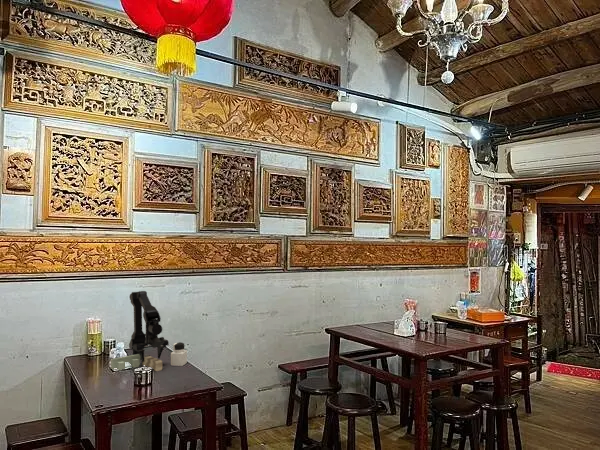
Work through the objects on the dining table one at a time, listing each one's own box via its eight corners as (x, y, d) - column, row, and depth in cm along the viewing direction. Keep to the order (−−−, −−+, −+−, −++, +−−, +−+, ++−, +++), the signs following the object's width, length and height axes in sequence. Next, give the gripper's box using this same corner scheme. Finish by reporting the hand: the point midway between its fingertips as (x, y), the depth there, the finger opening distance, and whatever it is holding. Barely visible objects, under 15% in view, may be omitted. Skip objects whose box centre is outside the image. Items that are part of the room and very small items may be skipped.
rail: (141, 364, 274) (141, 355, 274) (147, 363, 276) (147, 354, 276) (156, 371, 260) (156, 361, 260) (162, 369, 263) (162, 360, 263)
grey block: (110, 369, 265) (110, 358, 265) (138, 363, 276) (138, 353, 276) (114, 371, 261) (114, 360, 261) (143, 365, 272) (143, 354, 272)
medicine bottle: (187, 362, 277) (187, 341, 277) (182, 366, 270) (182, 344, 270) (175, 362, 278) (175, 341, 278) (170, 365, 271) (170, 344, 271)
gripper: (141, 336, 257) (141, 366, 257) (173, 331, 270) (173, 359, 269) (132, 333, 265) (132, 362, 265) (163, 328, 278) (164, 356, 277)
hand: (151, 360), depth 269 cm, fingers open, 9 cm apart
